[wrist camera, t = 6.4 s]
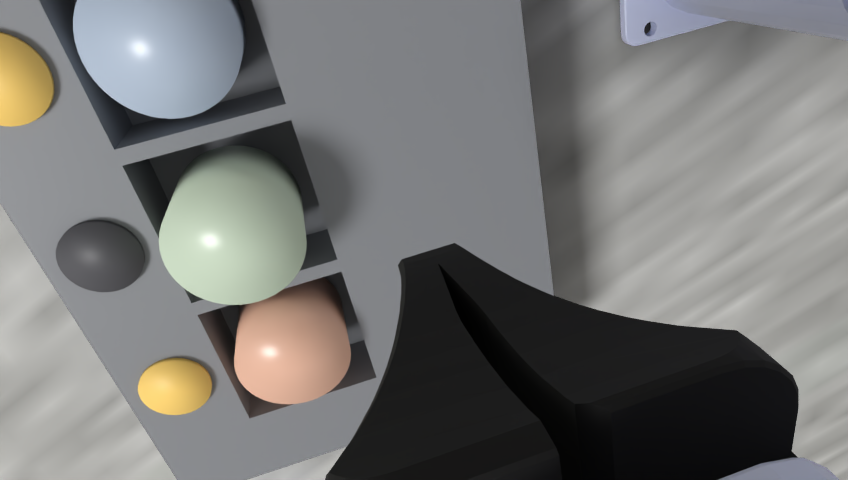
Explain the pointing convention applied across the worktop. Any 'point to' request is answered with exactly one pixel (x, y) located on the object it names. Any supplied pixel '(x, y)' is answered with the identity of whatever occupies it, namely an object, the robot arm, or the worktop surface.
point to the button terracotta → (293, 344)
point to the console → (319, 184)
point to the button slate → (161, 52)
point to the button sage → (234, 227)
